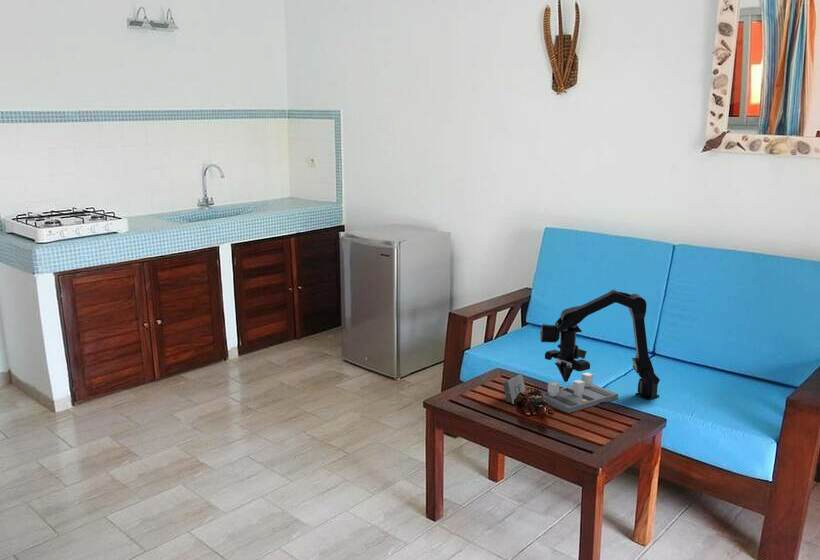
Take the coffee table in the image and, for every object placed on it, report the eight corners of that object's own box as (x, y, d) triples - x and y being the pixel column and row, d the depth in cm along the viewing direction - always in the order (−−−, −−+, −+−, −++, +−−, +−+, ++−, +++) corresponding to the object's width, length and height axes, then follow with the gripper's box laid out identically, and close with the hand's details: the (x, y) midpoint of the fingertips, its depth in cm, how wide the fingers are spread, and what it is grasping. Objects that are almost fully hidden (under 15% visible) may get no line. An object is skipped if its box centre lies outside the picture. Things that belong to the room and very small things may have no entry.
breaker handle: (583, 398, 269) (584, 382, 267) (577, 400, 267) (578, 383, 266) (577, 395, 271) (578, 379, 270) (572, 397, 270) (573, 381, 268)
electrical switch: (514, 406, 263) (513, 381, 261) (502, 403, 266) (501, 379, 265) (527, 398, 270) (526, 374, 268) (515, 396, 273) (514, 373, 272)
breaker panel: (617, 398, 270) (619, 381, 268) (568, 413, 256) (569, 395, 254) (586, 386, 283) (587, 369, 281) (537, 399, 269) (538, 381, 267)
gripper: (601, 345, 267) (599, 384, 270) (565, 333, 282) (563, 370, 286) (580, 350, 261) (578, 390, 264) (544, 337, 276) (542, 376, 280)
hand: (565, 381), depth 274 cm, fingers closed
